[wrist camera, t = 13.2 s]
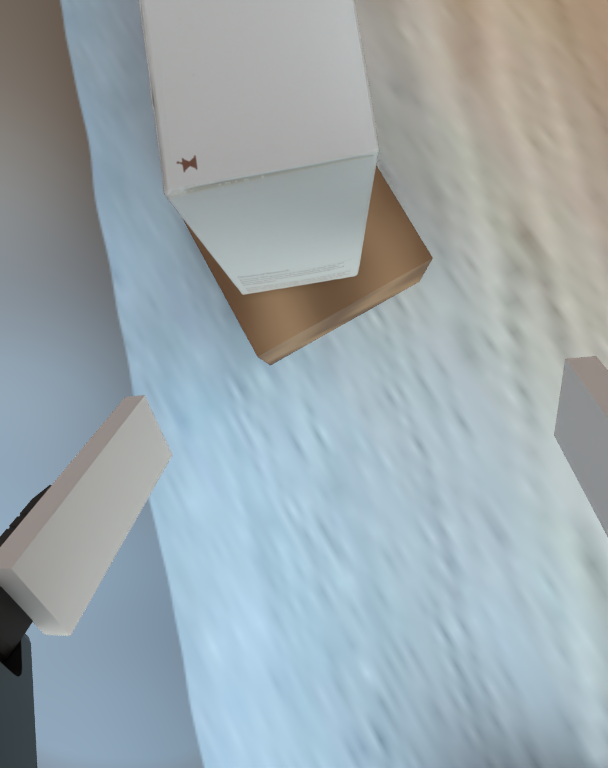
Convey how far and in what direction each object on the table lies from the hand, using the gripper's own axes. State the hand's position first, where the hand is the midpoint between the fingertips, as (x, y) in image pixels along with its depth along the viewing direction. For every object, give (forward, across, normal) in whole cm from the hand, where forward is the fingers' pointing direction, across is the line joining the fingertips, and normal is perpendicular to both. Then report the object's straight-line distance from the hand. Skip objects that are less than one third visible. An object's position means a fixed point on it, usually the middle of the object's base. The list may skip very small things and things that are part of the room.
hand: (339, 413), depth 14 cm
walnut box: (+20, -4, 0) cm, 21 cm away
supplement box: (+16, -4, +2) cm, 17 cm away
